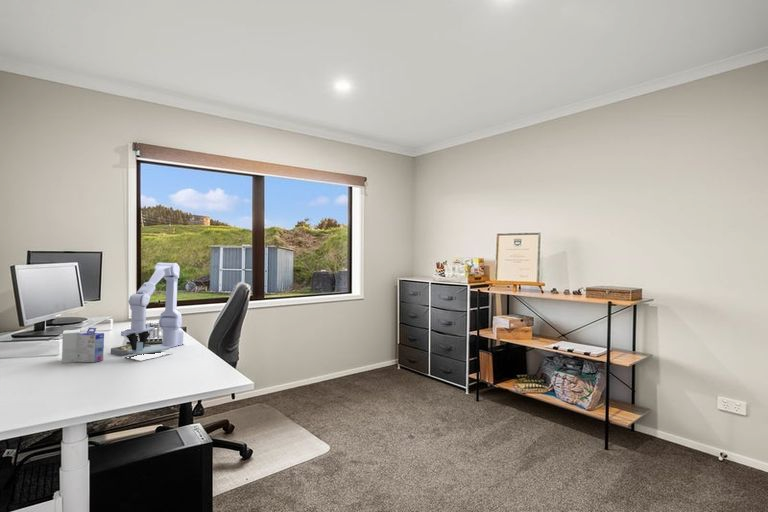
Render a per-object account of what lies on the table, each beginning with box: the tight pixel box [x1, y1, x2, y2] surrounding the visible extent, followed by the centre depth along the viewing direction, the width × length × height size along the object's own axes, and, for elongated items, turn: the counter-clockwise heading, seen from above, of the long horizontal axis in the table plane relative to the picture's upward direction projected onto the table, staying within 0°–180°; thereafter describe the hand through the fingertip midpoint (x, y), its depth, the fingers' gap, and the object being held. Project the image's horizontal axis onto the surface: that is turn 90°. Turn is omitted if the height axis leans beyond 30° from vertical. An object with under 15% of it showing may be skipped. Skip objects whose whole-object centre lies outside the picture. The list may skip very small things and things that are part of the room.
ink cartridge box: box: [75, 327, 105, 363], centre depth 181 cm, size 10×6×14 cm, turn 86°
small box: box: [61, 329, 82, 364], centre depth 181 cm, size 8×6×13 cm
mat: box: [124, 350, 165, 359], centre depth 192 cm, size 16×12×1 cm
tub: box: [110, 343, 152, 357], centre depth 199 cm, size 14×9×2 cm, turn 153°
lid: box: [127, 340, 171, 355], centre depth 192 cm, size 15×10×5 cm, turn 153°
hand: (137, 349), depth 187 cm, fingers closed on lid, 3 cm apart
